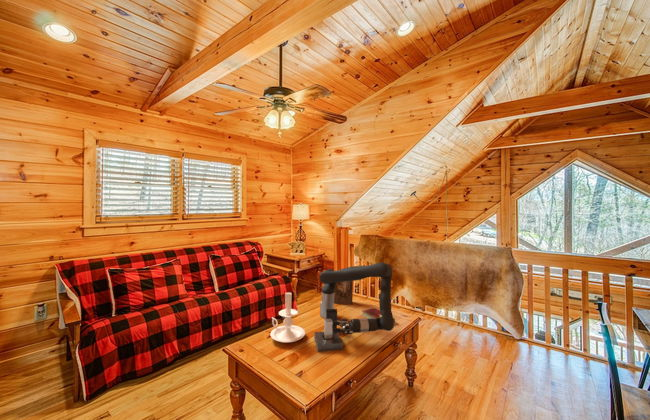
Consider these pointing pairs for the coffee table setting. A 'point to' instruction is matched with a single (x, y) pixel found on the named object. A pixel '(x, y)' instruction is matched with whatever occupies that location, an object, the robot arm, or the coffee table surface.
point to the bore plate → (328, 342)
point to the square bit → (328, 329)
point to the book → (343, 292)
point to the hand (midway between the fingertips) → (332, 327)
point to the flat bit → (332, 316)
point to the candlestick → (287, 324)
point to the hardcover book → (373, 313)
